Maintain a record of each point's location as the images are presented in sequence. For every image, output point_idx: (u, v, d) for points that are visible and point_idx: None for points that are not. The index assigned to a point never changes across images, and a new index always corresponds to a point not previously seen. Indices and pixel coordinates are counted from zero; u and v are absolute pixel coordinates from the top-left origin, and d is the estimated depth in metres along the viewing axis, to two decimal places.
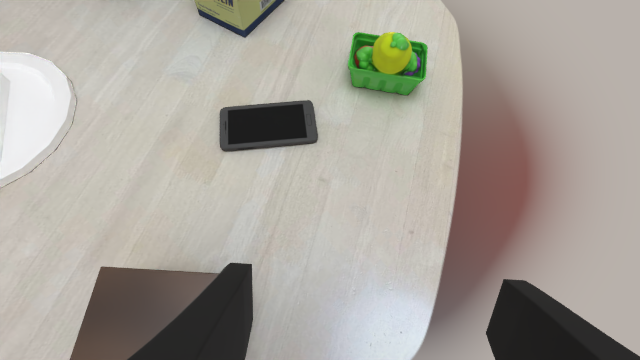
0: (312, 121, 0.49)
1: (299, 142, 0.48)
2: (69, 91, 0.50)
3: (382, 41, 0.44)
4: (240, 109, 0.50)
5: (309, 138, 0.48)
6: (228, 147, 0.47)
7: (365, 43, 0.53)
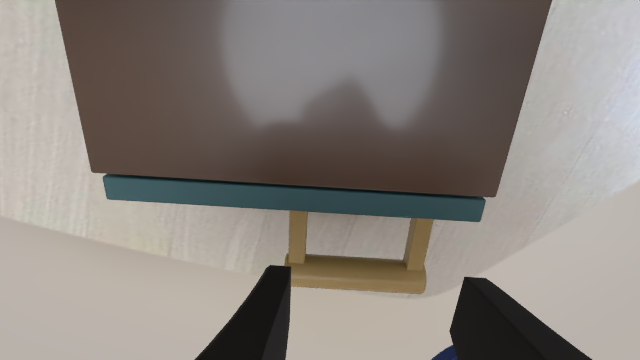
0: None
1: None
2: None
3: None
4: None
5: None
6: None
7: None
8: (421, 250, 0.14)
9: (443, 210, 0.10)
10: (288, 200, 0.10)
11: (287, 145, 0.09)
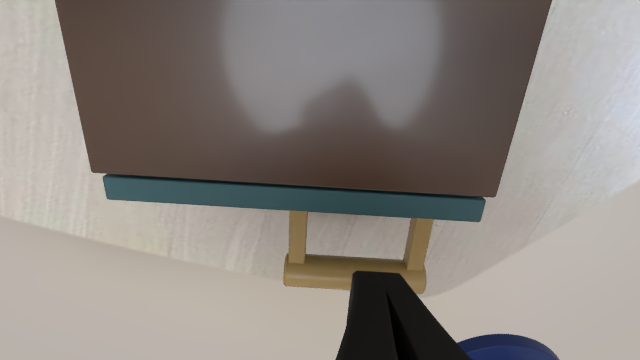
0: None
1: None
2: None
3: None
4: None
5: None
6: None
7: None
8: (421, 250, 0.14)
9: (443, 210, 0.10)
10: (288, 200, 0.10)
11: (287, 145, 0.09)
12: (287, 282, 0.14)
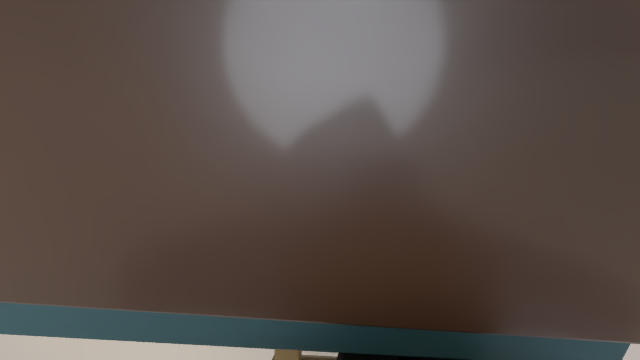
0: None
1: None
2: None
3: None
4: None
5: None
6: None
7: None
8: None
9: (551, 350, 0.06)
10: (261, 334, 0.06)
11: (254, 253, 0.05)
12: None
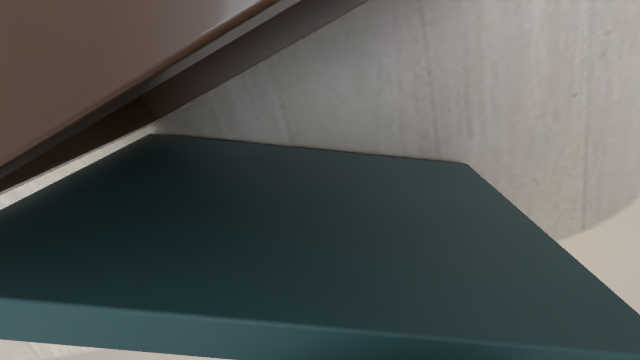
0: None
1: None
2: None
3: None
4: None
5: None
6: None
7: None
8: None
9: None
10: (263, 345, 0.05)
11: None
12: None
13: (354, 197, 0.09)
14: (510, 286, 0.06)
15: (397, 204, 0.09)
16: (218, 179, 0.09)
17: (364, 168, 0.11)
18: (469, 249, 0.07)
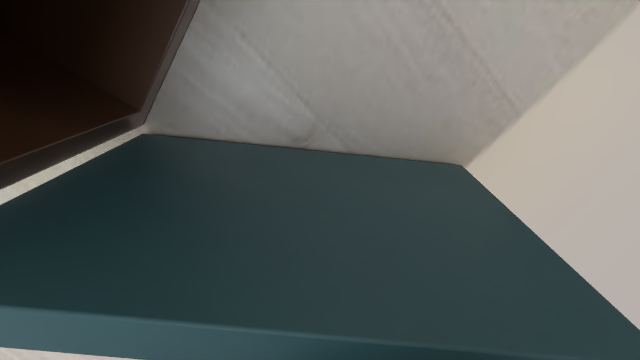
0: None
1: None
2: None
3: None
4: None
5: None
6: None
7: None
8: None
9: None
10: (248, 353, 0.05)
11: None
12: None
13: (346, 199, 0.09)
14: (500, 291, 0.06)
15: (389, 207, 0.09)
16: (209, 181, 0.09)
17: (358, 170, 0.11)
18: (460, 252, 0.07)
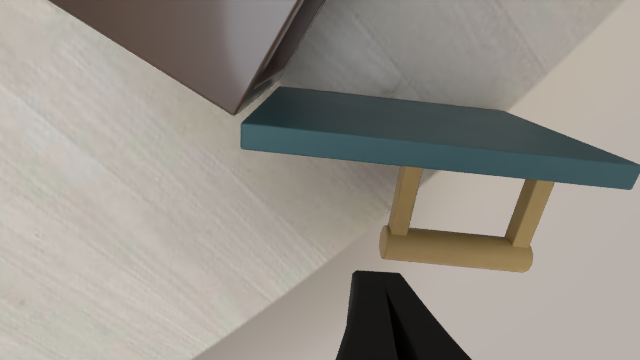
0: None
1: None
2: None
3: None
4: None
5: None
6: None
7: None
8: (531, 226, 0.13)
9: (596, 175, 0.10)
10: (435, 158, 0.10)
11: None
12: (389, 255, 0.14)
13: (443, 117, 0.14)
14: (550, 146, 0.11)
15: (471, 121, 0.14)
16: (354, 106, 0.14)
17: (438, 108, 0.16)
18: (523, 135, 0.12)
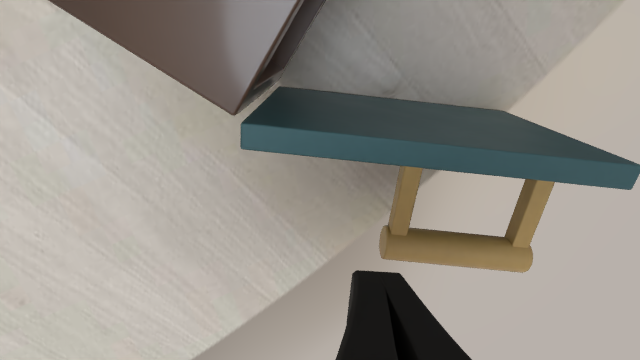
0: None
1: None
2: None
3: None
4: None
5: None
6: None
7: None
8: (531, 226, 0.13)
9: (596, 175, 0.10)
10: (435, 158, 0.10)
11: None
12: (389, 255, 0.14)
13: (443, 117, 0.14)
14: (550, 146, 0.11)
15: (471, 121, 0.14)
16: (354, 106, 0.14)
17: (438, 108, 0.16)
18: (523, 135, 0.12)
